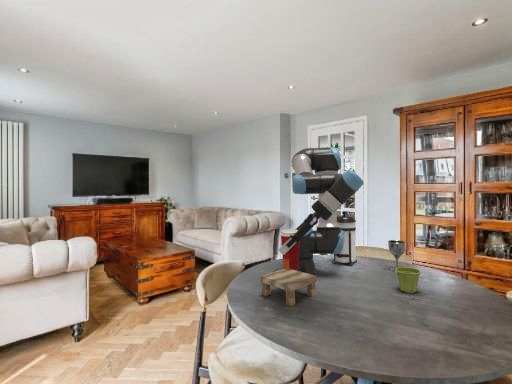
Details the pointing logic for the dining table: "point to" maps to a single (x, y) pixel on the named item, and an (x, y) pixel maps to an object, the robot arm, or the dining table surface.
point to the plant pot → (408, 279)
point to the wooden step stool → (289, 283)
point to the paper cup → (290, 251)
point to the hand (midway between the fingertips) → (282, 249)
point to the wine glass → (396, 250)
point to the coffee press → (347, 239)
